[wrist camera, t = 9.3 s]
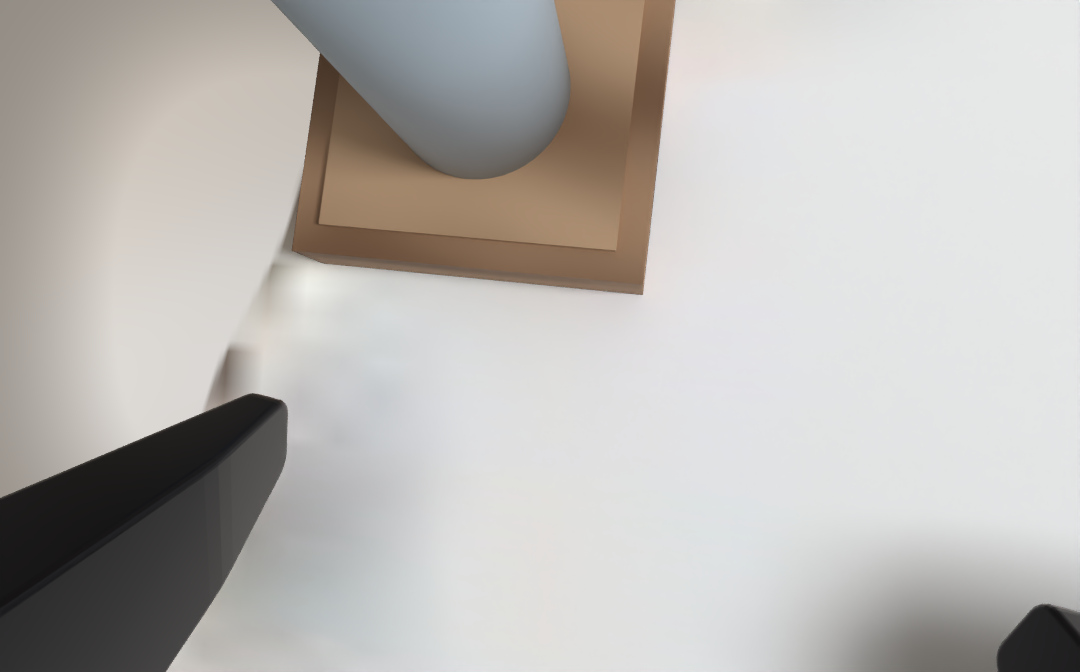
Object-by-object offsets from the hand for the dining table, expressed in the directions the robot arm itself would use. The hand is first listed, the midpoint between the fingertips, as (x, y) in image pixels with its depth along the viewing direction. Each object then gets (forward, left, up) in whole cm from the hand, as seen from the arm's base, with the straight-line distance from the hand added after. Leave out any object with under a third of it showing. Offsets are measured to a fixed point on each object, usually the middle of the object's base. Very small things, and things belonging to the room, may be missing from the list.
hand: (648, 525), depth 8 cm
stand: (-1, +11, -12) cm, 16 cm away
